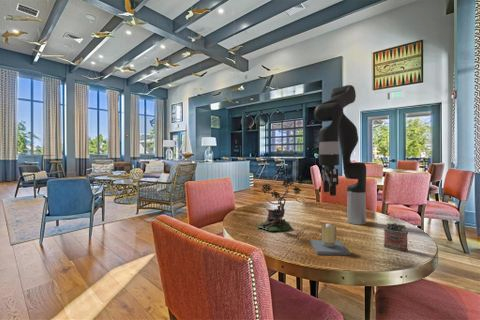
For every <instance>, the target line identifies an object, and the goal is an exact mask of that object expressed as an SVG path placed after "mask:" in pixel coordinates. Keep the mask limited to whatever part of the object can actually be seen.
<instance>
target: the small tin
mask: <svg viewBox="0 0 480 320" xmlns="http://www.w3.org/2000/svg"><path fill="white" fill-rule="evenodd" d="M406 229H407V227H406V225H404V224H398V223H396V222H393V223H390V222H387V223H386V227H383V233H384V235H383V237H384V240H383V241H384V242H383V247H384V248H386V249H390V250H391V251H393V250H394V251H397V252H403V253H408V252H409V249H408V234H409V233H408V232H409V231H407V230H406Z"/></svg>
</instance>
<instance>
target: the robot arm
mask: <svg viewBox="0 0 480 320" xmlns="http://www.w3.org/2000/svg"><path fill="white" fill-rule="evenodd" d="M356 93H357V92H356V89H355V87H354V86H353V85H350V84H347V85H342V86H338V87H335V88H331V90H330V93H329V94H330V98H329V99H328V100H327V101H324V102H321V103H319V104H318V105H317V106H316V107H315V109H314V113H313V114H314V118H315V120H317V122H320V123H321V122H331V123H330V124H329V125H327V126H324V127H321V128H320V130H319V146H318V161H319V164H318V165H320V166H321V182H322V183H323V192H324V193H329V196H332V197H335V196H337V186H339V168H335V166H340V151H341V156H342V157H341V159H342V168H343V170H342V171H343V174H344V175H343V176H344V177H345V178H346V179H348V180H357V182H356V183H354V184H351V185H348V186H347V187H346V199H347V201H346V203H347V204H346V207H347V212H346V213H347V214H346V218H347V219H346V220H347V223H349V224H351V225H359V226H361V225H366V224H367V210H366V209H367V206H366V204H367V203H366V202H367V198H366V197H367V195H366V194H367V193H366V192H367V190H366V189H367V188H366V187H367V166H366V164H365V163H364V162H352V161H351V156H352V153H354V152H353V151H354V150H355V148H356V146H357V144H358V142H359V135H358V128H357V126H356V125H355V124H354V123H353V121H351V119H349V118H348V117H347V116H346V114H345V112H344V108H346V107H347V106H349V105H351V104H353V103H355V101H356V97H357V95H356ZM340 149H341V150H340Z"/></svg>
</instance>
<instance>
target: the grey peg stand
mask: <svg viewBox="0 0 480 320" xmlns="http://www.w3.org/2000/svg"><path fill="white" fill-rule="evenodd" d="M325 224H326V227H332V225H333V224H332V223H325ZM336 241H337V242H335V243H327V242H323V241H322V239H321V240H319V239H310V241H309V242H310V244H311V246H312V248H313V250H314V251H315V253H316V255H320V256H321V255H322V256H323V255H324V256H325V255H326V256H328V255H329V256H331V255H332V256H351V251H350V250H349V249H348V248H347V247H346V246H345V245H344V244H343V243H342V242H341V241H340V239H339V240H338V239H336Z"/></svg>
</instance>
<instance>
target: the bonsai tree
mask: <svg viewBox="0 0 480 320" xmlns="http://www.w3.org/2000/svg"><path fill="white" fill-rule="evenodd" d="M292 173H293V168H289V167H287V168H285V167H280V166H279V167H278V168H277V170H276V175H277V176H279V175H280V174H281V176H282V177H283V179H284V180H283V181H282V185H281V186H283V187H285V192H284V194H282V196H281V195H280V193H279V191H278V192H277V191H276V190H272V187H271V186H272V185H271V184H270V183H266V184H265V183H264V184H263V185H262V189H261V191H263V193H264V194H266V193H267V192H270V194H271V197H269V199H271V198H272V197H273V199H276V200H277V199H278V200H277V203H276V202H272V201H270V200H268V197H266V198H265V200H266V201H267V202H269V203H270V204H272V205H277V208H274V209H270V208H266V211H267V216H266V220H265V221H262V222H260V223H259V225H260V226H259V225H258V226H257V227H258V228H257V229H260V228H262V229H261V230H263V229H265V230H268V231H267V232H287V231H289V230H290V229H291V228H292V226H291V225H290V222H289V221H286V219H285V218H284V217H285V213H286V212H285V211H286V209H285V205H286V201H287V200H286V198H287V199H289V198H291V199H295V200H296V202H297V203H301V200H302V203H305V199H304V198H302V197H301V198H299V200H298V198H297V197H295V196H296V195H297V196H298V195H300V194H301V193H302V192H303V190H301V188H299V187H297V186H294V188H293V189H292V191H293V193H294V195H295V196H287V195H288V194H289V193H290V191H289V189H288V187H290V186H293V185H294V184H295V183H294V182H295V181H296V182H297V183H298V184H299V185H302V184H304V183H305V182H306V179H305V176H303V175H302V174H301V175H300V174H297V177H296V178H295V180H294V177H290V178H288V177H289V176H291V175H292ZM283 175H285V177H286V179H285V177H284V176H283ZM288 175H289V176H288ZM282 200H283V201H284V202H282ZM265 230H264V231H265ZM286 230H287V231H286Z"/></svg>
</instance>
